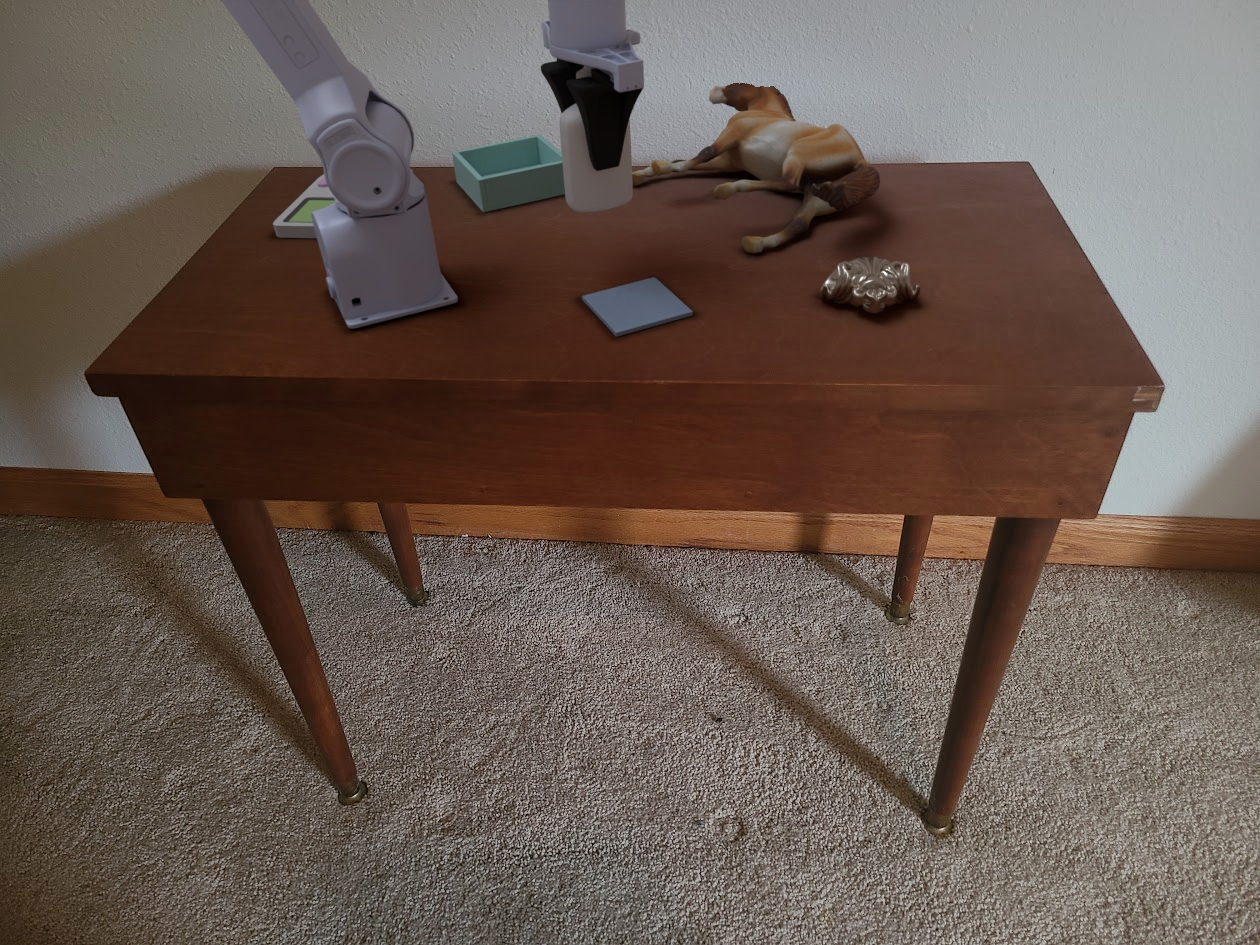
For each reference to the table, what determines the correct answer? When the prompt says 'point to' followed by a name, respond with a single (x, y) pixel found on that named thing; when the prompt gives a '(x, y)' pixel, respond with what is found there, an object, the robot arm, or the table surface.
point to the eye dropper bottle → (591, 167)
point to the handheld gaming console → (304, 211)
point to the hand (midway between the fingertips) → (596, 159)
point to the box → (510, 172)
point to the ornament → (869, 283)
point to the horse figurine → (779, 159)
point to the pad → (636, 306)
